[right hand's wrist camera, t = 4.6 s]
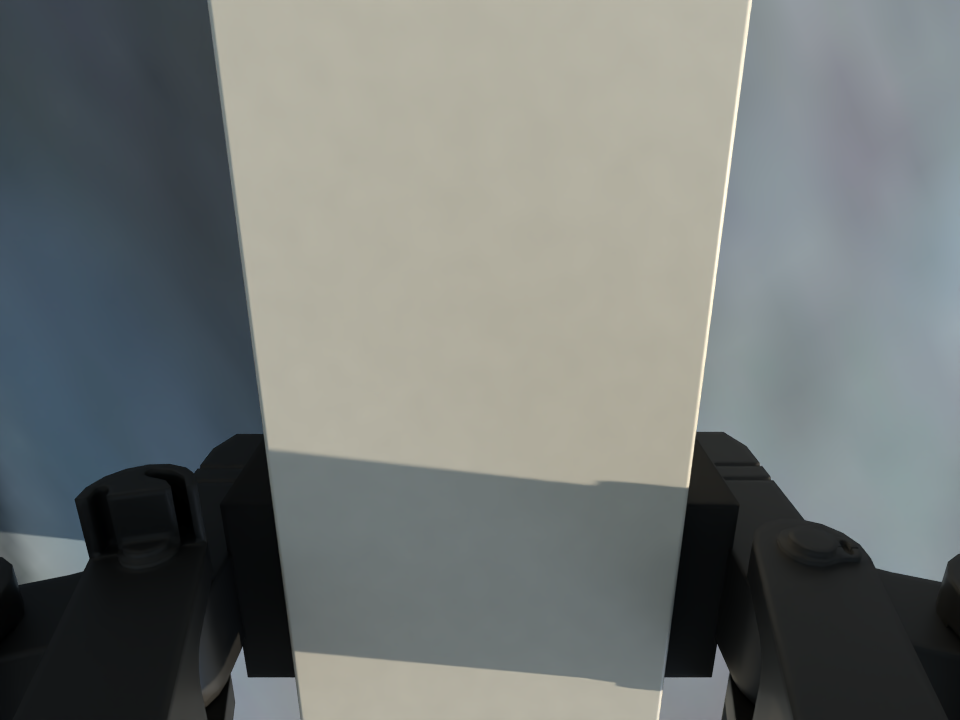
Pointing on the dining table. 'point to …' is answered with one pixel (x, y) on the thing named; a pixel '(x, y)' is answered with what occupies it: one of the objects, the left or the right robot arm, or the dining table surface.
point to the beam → (479, 335)
